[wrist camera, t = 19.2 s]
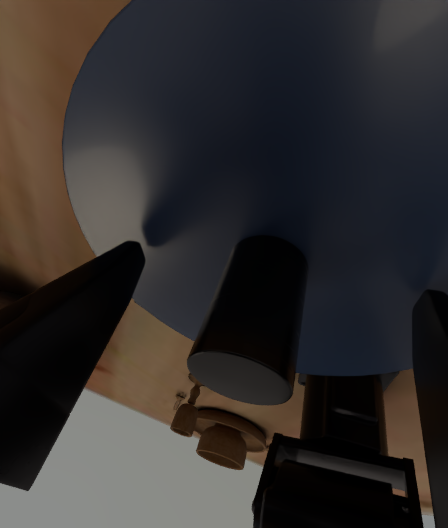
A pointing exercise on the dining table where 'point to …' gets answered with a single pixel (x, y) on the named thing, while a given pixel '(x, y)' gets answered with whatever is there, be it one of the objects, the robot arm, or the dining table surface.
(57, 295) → the robot arm
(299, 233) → the lid
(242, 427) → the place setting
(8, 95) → the dining table surface
